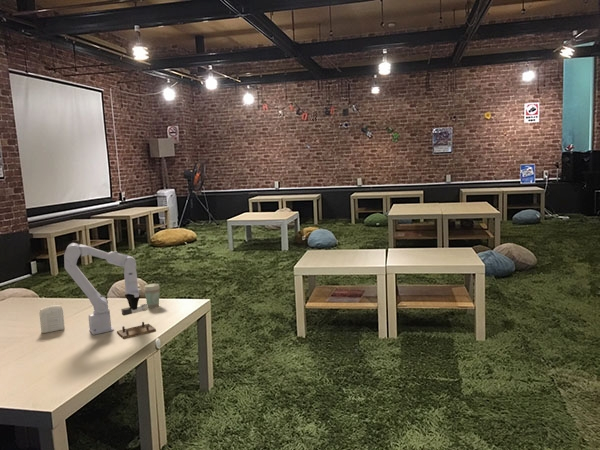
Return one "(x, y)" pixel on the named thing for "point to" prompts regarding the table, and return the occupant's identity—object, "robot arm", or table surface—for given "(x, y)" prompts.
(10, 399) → the table surface
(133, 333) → the tool board
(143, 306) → the lever door handle
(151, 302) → the coffee cup
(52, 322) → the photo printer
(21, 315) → the table surface
